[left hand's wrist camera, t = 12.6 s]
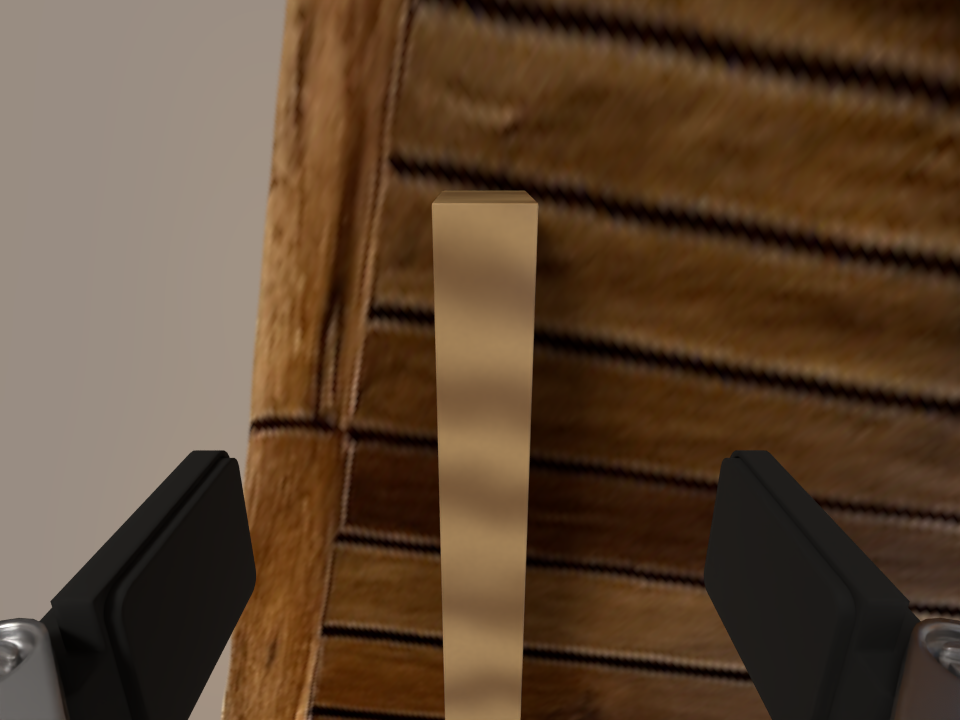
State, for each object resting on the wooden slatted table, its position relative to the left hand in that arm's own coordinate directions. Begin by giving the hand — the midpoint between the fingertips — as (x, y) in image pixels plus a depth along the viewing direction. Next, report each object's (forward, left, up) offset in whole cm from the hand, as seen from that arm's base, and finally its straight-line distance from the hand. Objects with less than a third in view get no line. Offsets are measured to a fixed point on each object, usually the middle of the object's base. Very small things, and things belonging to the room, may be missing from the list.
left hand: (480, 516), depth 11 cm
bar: (+27, +12, -25) cm, 39 cm away
